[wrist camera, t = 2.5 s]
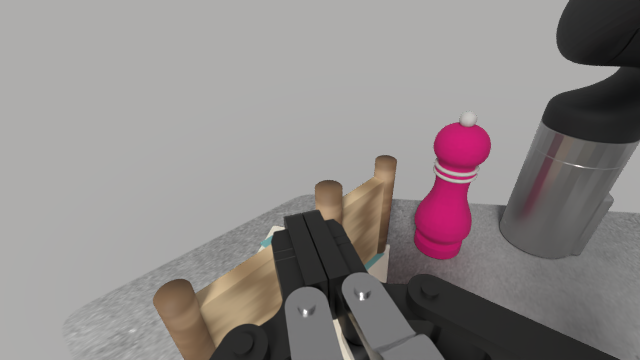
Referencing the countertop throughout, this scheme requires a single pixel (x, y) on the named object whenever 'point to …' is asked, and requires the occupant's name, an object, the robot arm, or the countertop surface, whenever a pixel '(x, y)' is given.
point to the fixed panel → (362, 208)
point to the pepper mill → (451, 188)
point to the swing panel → (219, 305)
